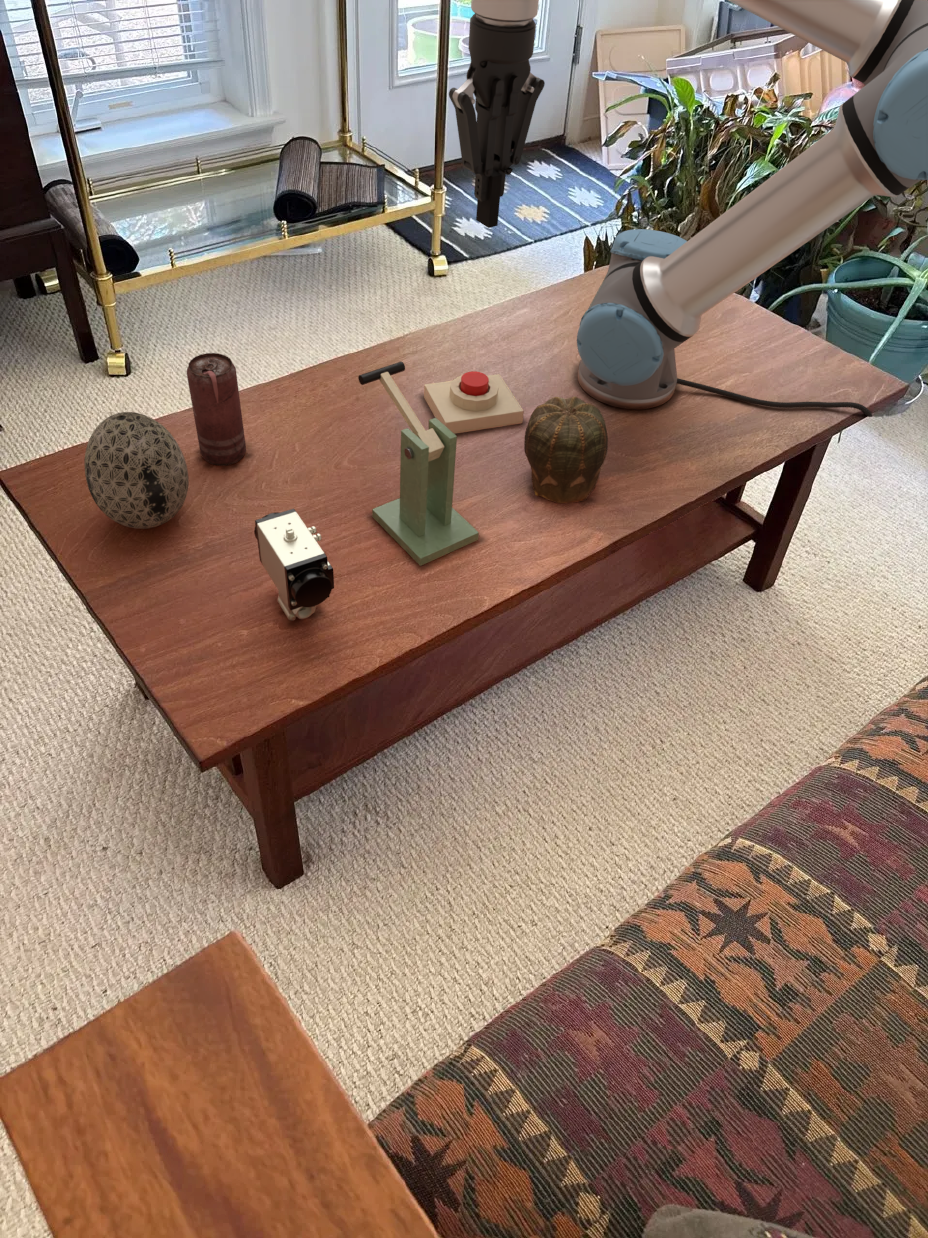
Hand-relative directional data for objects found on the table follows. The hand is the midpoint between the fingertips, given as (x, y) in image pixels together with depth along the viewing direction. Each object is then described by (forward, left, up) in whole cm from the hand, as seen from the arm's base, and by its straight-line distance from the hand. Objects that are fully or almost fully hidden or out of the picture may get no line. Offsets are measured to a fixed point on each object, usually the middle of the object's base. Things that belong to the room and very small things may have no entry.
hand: (486, 222), depth 124 cm
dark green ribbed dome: (-12, +20, -27) cm, 35 cm away
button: (0, +4, -23) cm, 23 cm away
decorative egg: (+41, +32, -27) cm, 58 cm away
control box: (0, +4, -26) cm, 27 cm away
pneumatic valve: (+20, +46, -27) cm, 57 cm away
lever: (+9, +27, -12) cm, 31 cm away
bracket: (+6, +31, -26) cm, 41 cm away
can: (+34, +18, -27) cm, 47 cm away
